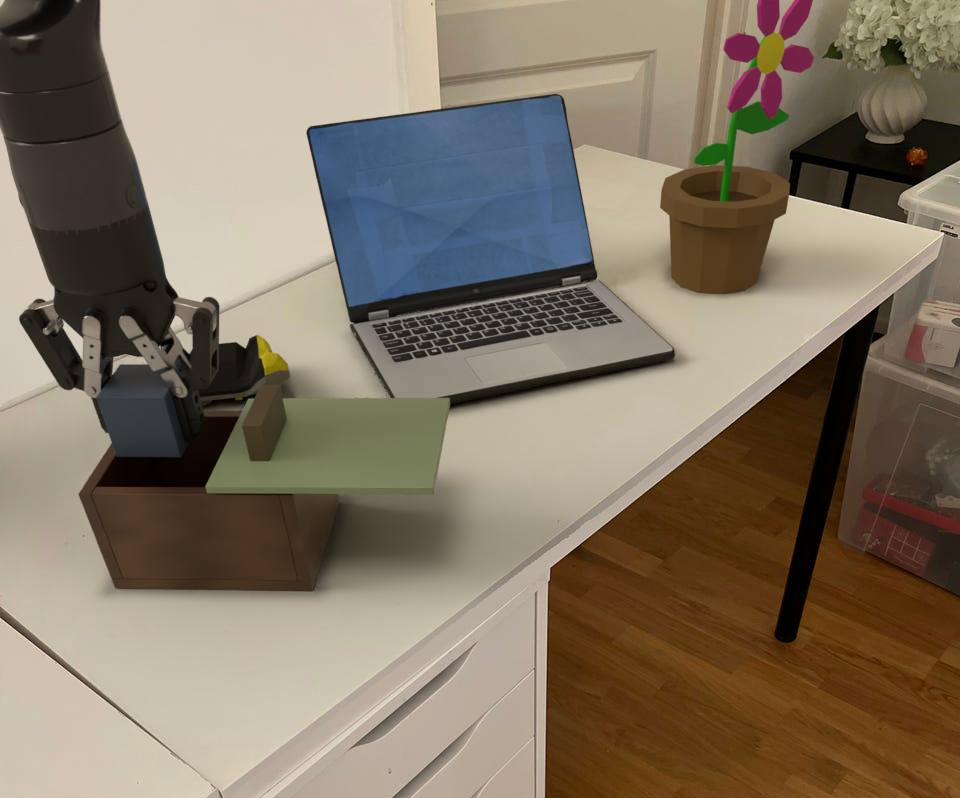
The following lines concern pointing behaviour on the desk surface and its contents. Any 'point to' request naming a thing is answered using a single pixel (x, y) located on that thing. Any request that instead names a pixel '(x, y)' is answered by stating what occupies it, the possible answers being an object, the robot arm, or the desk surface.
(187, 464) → the storage box
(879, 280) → the desk surface
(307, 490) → the cover
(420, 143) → the laptop
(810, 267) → the desk surface
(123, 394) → the block
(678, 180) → the flowerpot
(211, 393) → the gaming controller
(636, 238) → the desk surface
